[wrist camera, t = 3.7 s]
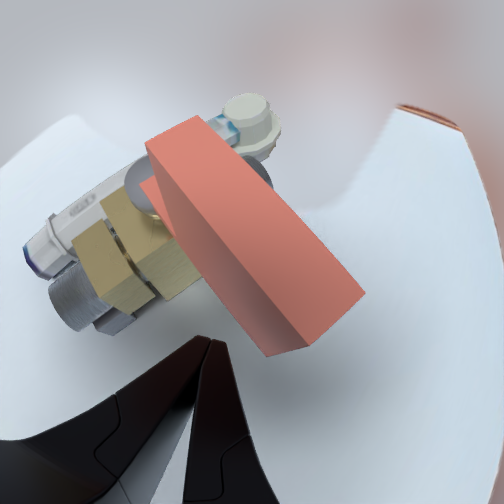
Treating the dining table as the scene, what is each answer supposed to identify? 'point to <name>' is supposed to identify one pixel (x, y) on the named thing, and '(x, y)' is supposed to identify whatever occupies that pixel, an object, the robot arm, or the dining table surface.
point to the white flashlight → (88, 207)
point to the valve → (123, 266)
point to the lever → (241, 238)
